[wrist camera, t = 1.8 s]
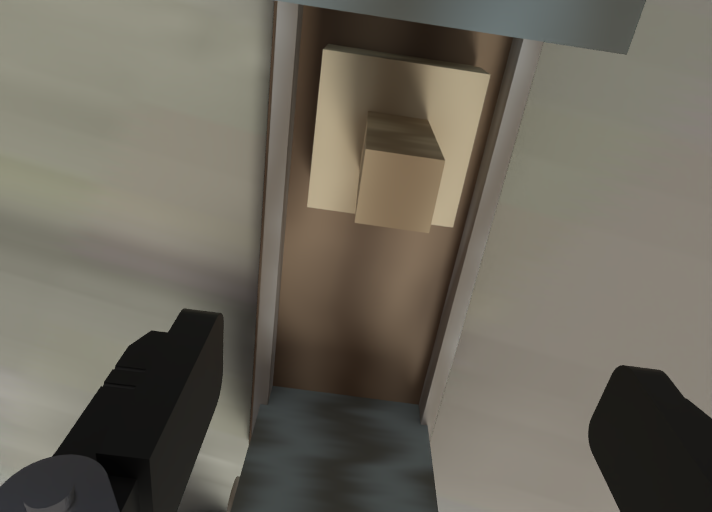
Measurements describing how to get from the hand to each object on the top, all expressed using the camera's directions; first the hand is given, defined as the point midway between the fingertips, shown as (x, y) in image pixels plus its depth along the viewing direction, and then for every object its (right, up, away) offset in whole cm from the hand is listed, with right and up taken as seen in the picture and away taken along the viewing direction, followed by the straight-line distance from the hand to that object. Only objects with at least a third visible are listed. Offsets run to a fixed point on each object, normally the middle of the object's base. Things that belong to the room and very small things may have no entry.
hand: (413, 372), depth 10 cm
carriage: (+1, +9, +18) cm, 20 cm away
